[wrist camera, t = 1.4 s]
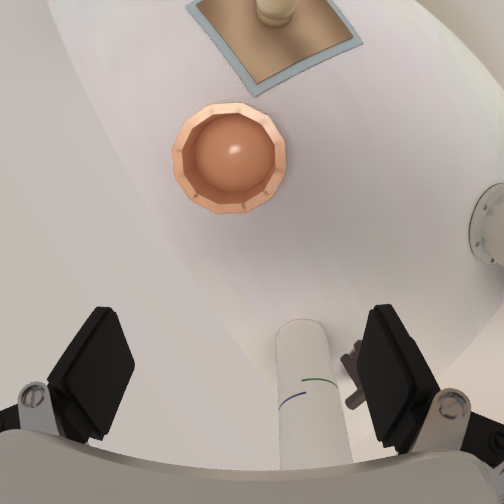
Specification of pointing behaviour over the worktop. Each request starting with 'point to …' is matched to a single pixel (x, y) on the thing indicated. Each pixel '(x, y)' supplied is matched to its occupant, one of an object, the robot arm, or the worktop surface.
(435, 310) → the worktop surface
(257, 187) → the terracotta bowl
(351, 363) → the portable electronic device stand
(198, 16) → the slate mat
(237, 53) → the square wooden lid
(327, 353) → the cylindrical container
